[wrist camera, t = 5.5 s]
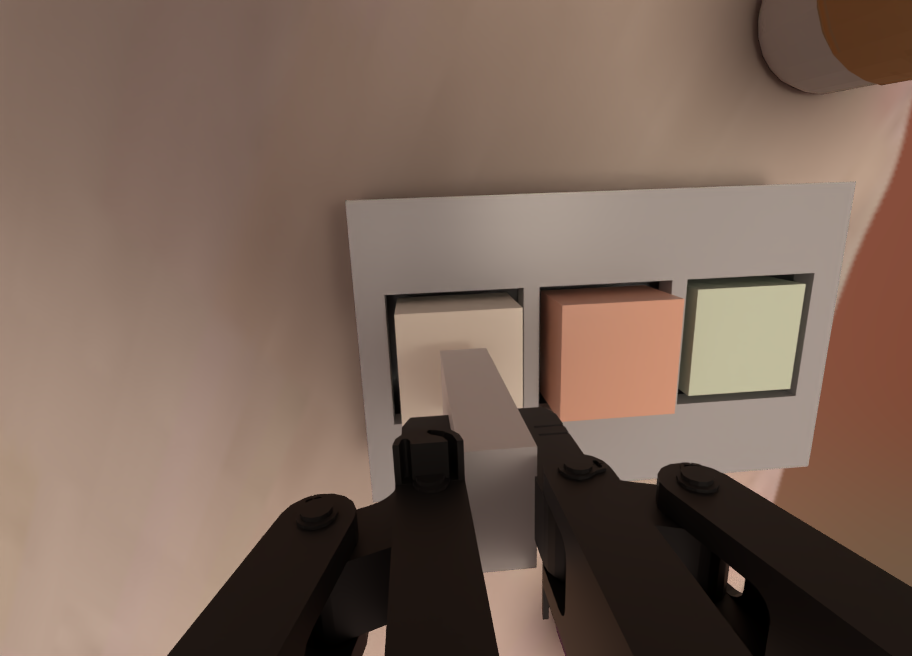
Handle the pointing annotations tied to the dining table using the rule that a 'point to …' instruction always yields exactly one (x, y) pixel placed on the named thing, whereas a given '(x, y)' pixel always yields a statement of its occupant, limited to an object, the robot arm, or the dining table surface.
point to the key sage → (739, 334)
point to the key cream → (454, 344)
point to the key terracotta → (609, 351)
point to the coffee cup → (837, 42)
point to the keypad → (608, 265)
